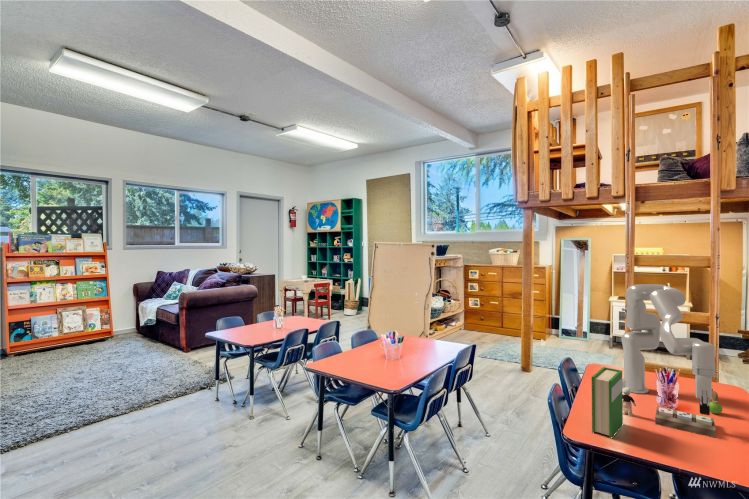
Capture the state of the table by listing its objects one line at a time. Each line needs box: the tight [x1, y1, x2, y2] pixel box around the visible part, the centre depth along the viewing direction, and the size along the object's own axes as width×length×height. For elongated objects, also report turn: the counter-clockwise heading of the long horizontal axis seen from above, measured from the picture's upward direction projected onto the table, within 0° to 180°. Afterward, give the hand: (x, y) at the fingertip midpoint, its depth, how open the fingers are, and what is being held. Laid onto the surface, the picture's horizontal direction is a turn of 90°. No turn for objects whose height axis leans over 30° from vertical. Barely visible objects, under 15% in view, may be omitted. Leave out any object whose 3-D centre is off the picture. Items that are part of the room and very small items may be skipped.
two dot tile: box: [658, 406, 674, 418], centre depth 171 cm, size 5×5×3 cm
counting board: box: [654, 406, 717, 438], centre depth 167 cm, size 20×14×3 cm
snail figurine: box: [709, 388, 723, 415], centre depth 178 cm, size 5×6×12 cm
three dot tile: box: [676, 410, 693, 422], centre depth 167 cm, size 5×5×3 cm
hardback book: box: [591, 366, 624, 438], centre depth 164 cm, size 18×7×24 cm, turn 135°
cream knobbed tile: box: [695, 414, 712, 426], centre depth 163 cm, size 5×5×3 cm
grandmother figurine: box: [622, 387, 637, 417], centre depth 178 cm, size 8×4×13 cm, turn 47°
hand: (704, 413), depth 162 cm, fingers closed
